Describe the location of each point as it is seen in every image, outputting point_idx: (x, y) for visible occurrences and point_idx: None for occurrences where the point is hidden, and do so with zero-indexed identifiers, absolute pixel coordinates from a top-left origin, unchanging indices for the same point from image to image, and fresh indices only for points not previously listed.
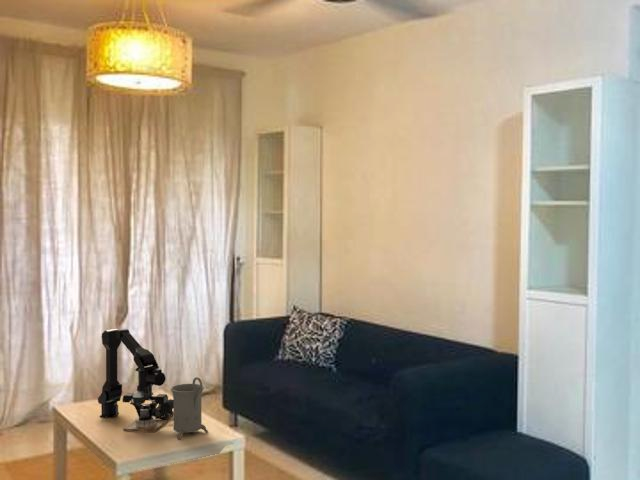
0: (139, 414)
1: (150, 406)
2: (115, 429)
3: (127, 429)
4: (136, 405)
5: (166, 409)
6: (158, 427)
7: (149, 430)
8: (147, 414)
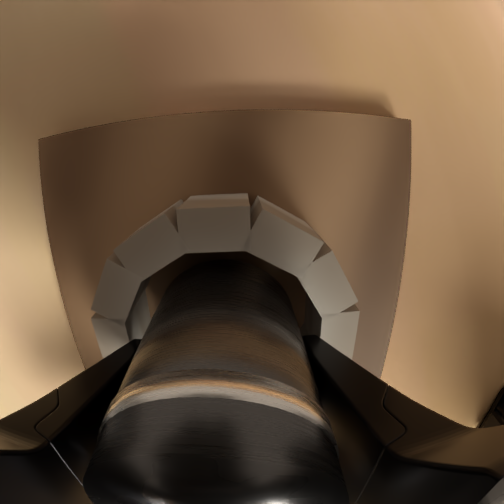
0: (317, 357)
1: (14, 447)
2: (472, 165)
3: (363, 114)
4: (441, 455)
5: None
6: (52, 239)
7: (91, 127)
8: (141, 342)
